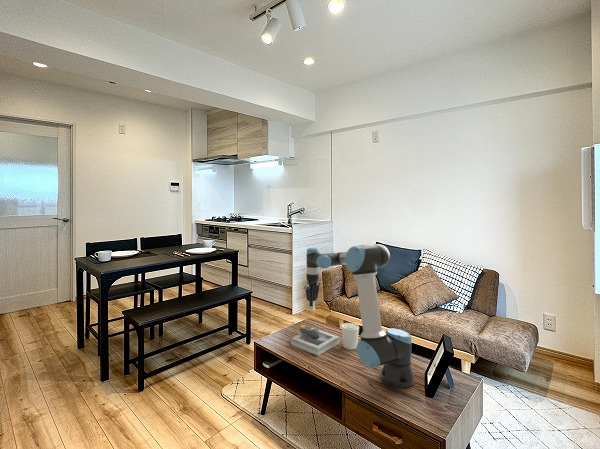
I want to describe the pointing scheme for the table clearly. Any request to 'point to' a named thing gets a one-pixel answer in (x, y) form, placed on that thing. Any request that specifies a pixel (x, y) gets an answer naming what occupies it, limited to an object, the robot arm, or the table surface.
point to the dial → (312, 335)
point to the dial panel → (312, 348)
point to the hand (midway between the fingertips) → (312, 310)
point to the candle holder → (350, 335)
